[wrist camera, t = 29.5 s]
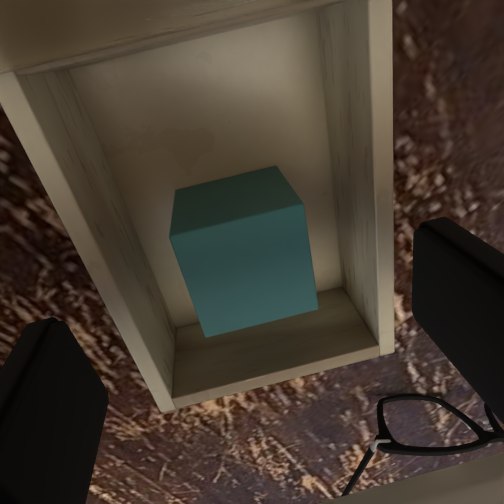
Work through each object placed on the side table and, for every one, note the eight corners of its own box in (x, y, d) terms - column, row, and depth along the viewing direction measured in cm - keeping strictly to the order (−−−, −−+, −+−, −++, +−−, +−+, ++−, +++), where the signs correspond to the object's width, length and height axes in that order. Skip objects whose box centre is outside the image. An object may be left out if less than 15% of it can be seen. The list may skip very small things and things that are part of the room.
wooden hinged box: (350, 285, 18) (395, 352, 14) (168, 331, 18) (161, 413, 14) (326, -14, 12) (393, -46, 8) (48, 52, 12) (-27, 53, 8)
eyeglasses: (563, 395, 25) (622, 449, 22) (456, 518, 32) (488, 575, 29) (347, 384, 21) (377, 449, 18) (279, 527, 29) (292, 593, 25)
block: (174, 189, 14) (167, 236, 10) (276, 164, 14) (304, 202, 10) (202, 275, 16) (204, 338, 12) (292, 253, 16) (319, 309, 12)
